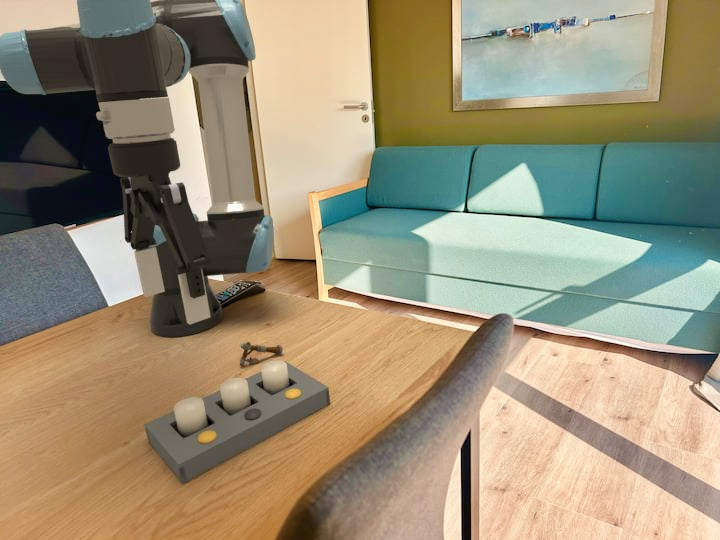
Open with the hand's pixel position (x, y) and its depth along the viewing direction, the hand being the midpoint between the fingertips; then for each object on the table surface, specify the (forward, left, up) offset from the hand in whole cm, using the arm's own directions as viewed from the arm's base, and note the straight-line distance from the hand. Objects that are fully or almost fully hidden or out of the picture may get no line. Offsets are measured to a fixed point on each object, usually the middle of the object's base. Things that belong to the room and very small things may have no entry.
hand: (175, 306), depth 67 cm
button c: (0, +13, -19) cm, 23 cm away
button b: (0, +6, -19) cm, 20 cm away
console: (+1, +6, -21) cm, 22 cm away
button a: (0, -1, -19) cm, 19 cm away
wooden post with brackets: (-13, +18, -21) cm, 31 cm away
